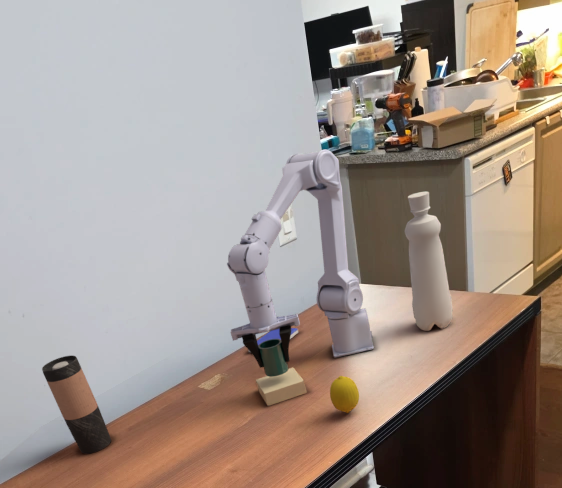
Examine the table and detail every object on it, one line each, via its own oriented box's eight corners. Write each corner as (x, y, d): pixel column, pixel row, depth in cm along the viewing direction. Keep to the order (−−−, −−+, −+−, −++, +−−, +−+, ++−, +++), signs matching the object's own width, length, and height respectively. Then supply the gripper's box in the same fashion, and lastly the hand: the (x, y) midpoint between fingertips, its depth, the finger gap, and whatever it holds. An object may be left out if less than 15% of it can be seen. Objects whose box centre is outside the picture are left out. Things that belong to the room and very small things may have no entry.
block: (296, 379, 149) (293, 367, 147) (307, 393, 141) (303, 380, 139) (258, 391, 148) (255, 379, 146) (267, 406, 140) (264, 393, 139)
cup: (288, 364, 144) (281, 336, 140) (288, 373, 139) (281, 345, 136) (265, 369, 144) (258, 342, 141) (265, 378, 140) (257, 350, 137)
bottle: (414, 321, 161) (397, 195, 146) (452, 314, 159) (438, 186, 144) (416, 335, 154) (397, 203, 139) (455, 328, 151) (441, 193, 136)
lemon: (365, 405, 129) (358, 369, 125) (356, 419, 125) (349, 382, 121) (340, 406, 132) (332, 370, 128) (330, 419, 128) (322, 383, 124)
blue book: (272, 347, 165) (297, 327, 173) (247, 347, 170) (272, 328, 178) (273, 353, 166) (298, 333, 174) (248, 352, 171) (274, 333, 179)
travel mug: (118, 435, 146) (84, 353, 136) (100, 454, 140) (62, 369, 130) (91, 437, 149) (55, 356, 139) (72, 455, 143) (33, 372, 133)
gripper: (223, 317, 132) (241, 377, 138) (293, 300, 130) (307, 362, 136) (226, 306, 138) (243, 364, 144) (292, 290, 136) (306, 350, 143)
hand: (274, 363), depth 141 cm, fingers closed on cup, 5 cm apart
